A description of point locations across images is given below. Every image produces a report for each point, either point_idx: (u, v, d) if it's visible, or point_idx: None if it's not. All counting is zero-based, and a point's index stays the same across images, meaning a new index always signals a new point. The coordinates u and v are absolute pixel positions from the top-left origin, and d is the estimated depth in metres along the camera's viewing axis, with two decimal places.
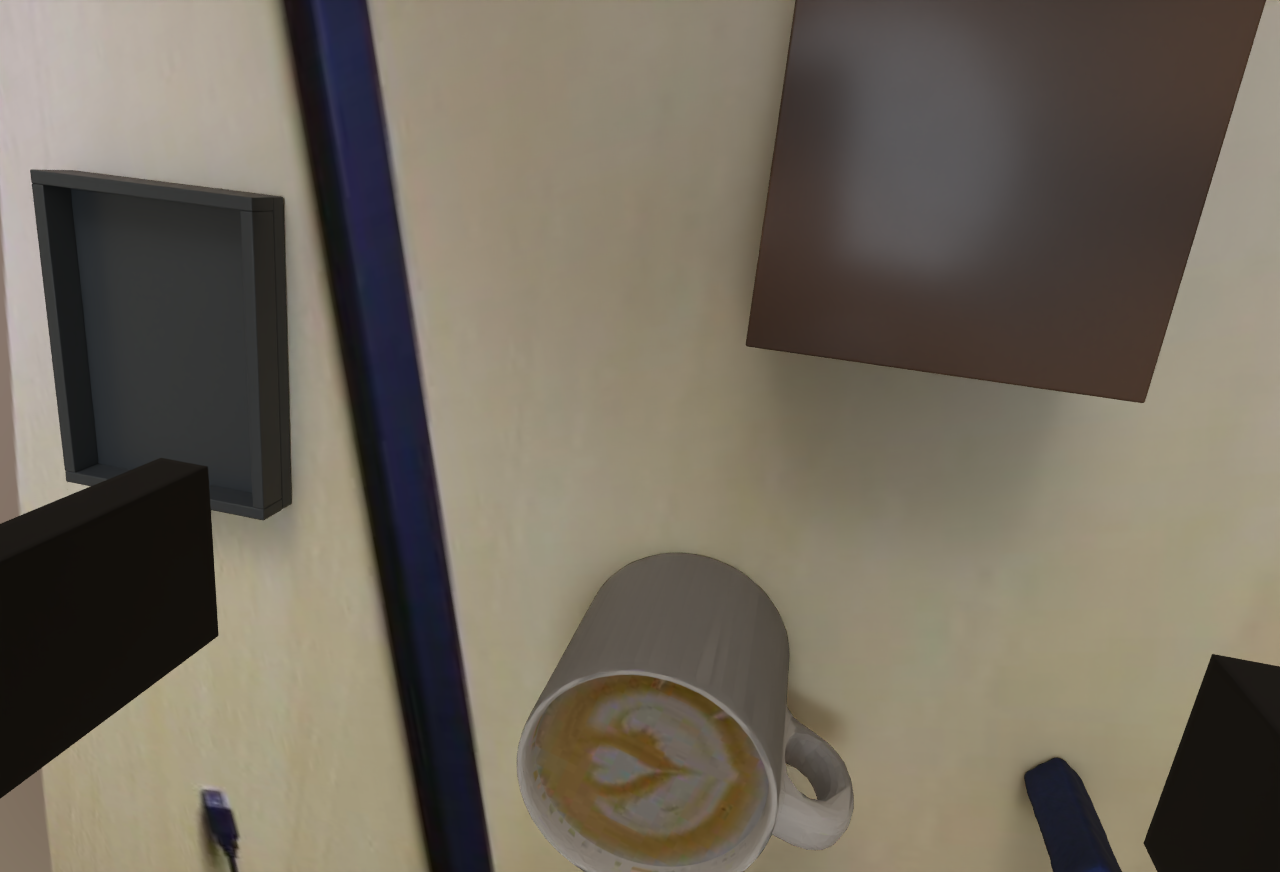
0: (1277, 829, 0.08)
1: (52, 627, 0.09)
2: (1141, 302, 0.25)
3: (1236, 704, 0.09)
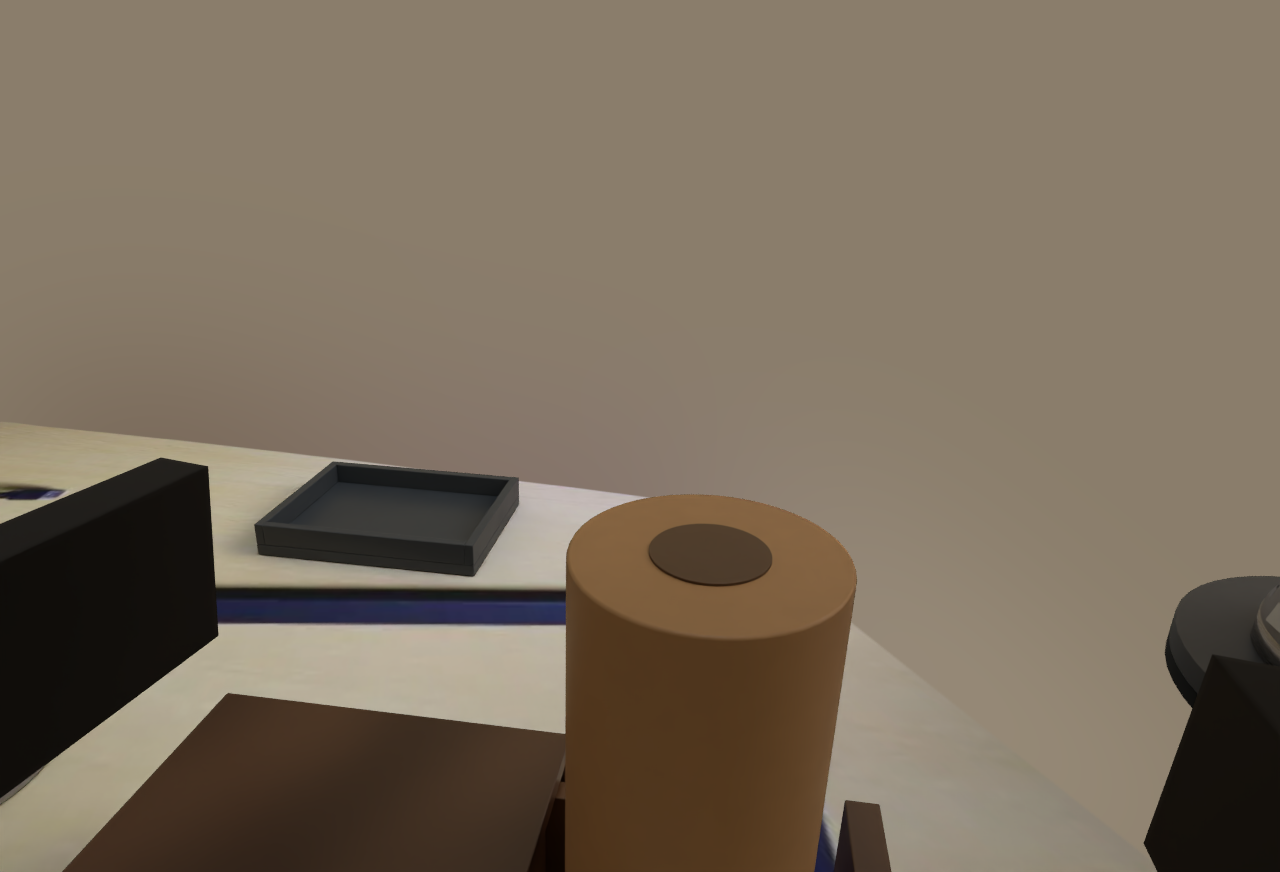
0: (1276, 829, 0.08)
1: (52, 627, 0.09)
2: None
3: (1236, 704, 0.09)
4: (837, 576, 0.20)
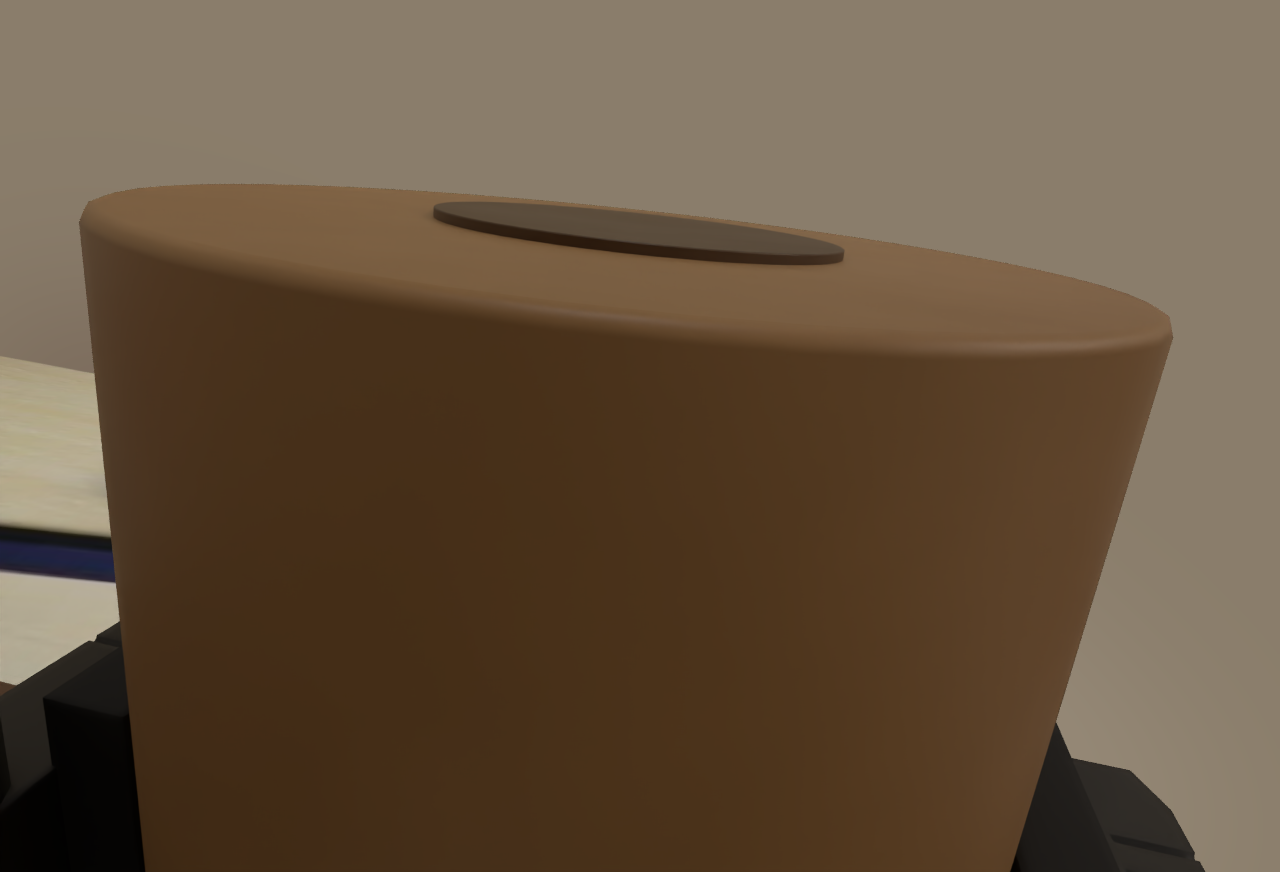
0: None
1: None
2: None
3: None
4: (1086, 295, 0.05)
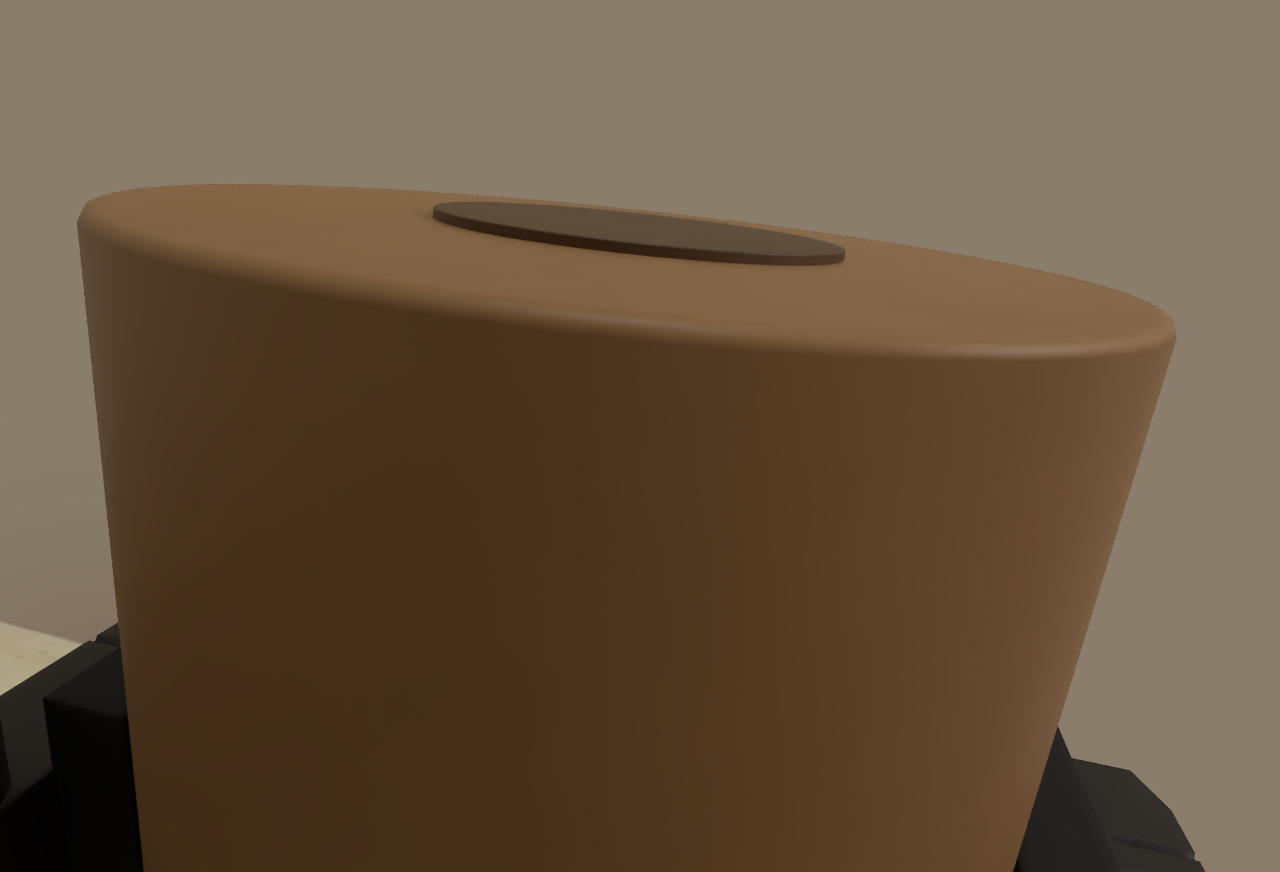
0: None
1: None
2: None
3: None
4: (1088, 296, 0.05)
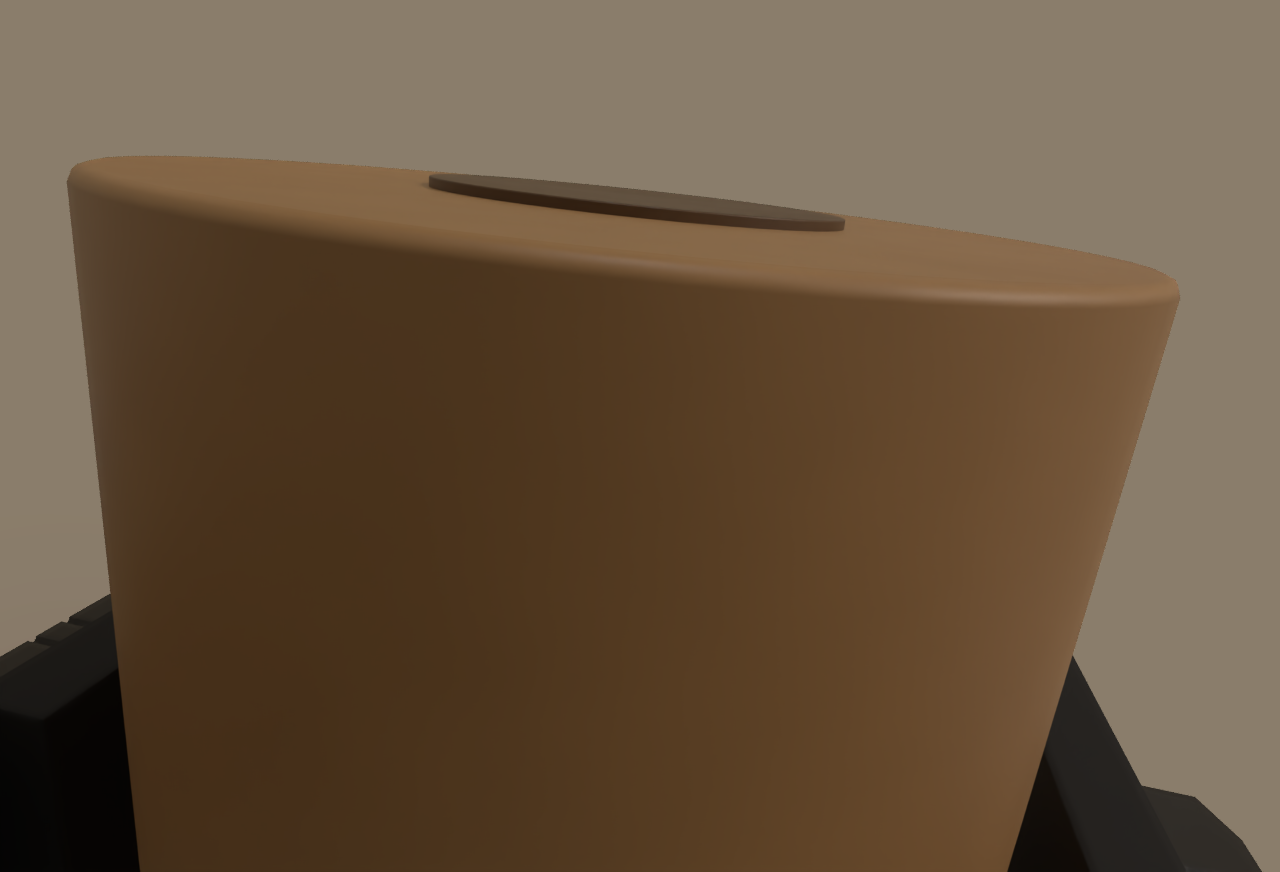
0: None
1: None
2: None
3: None
4: (1090, 261, 0.05)
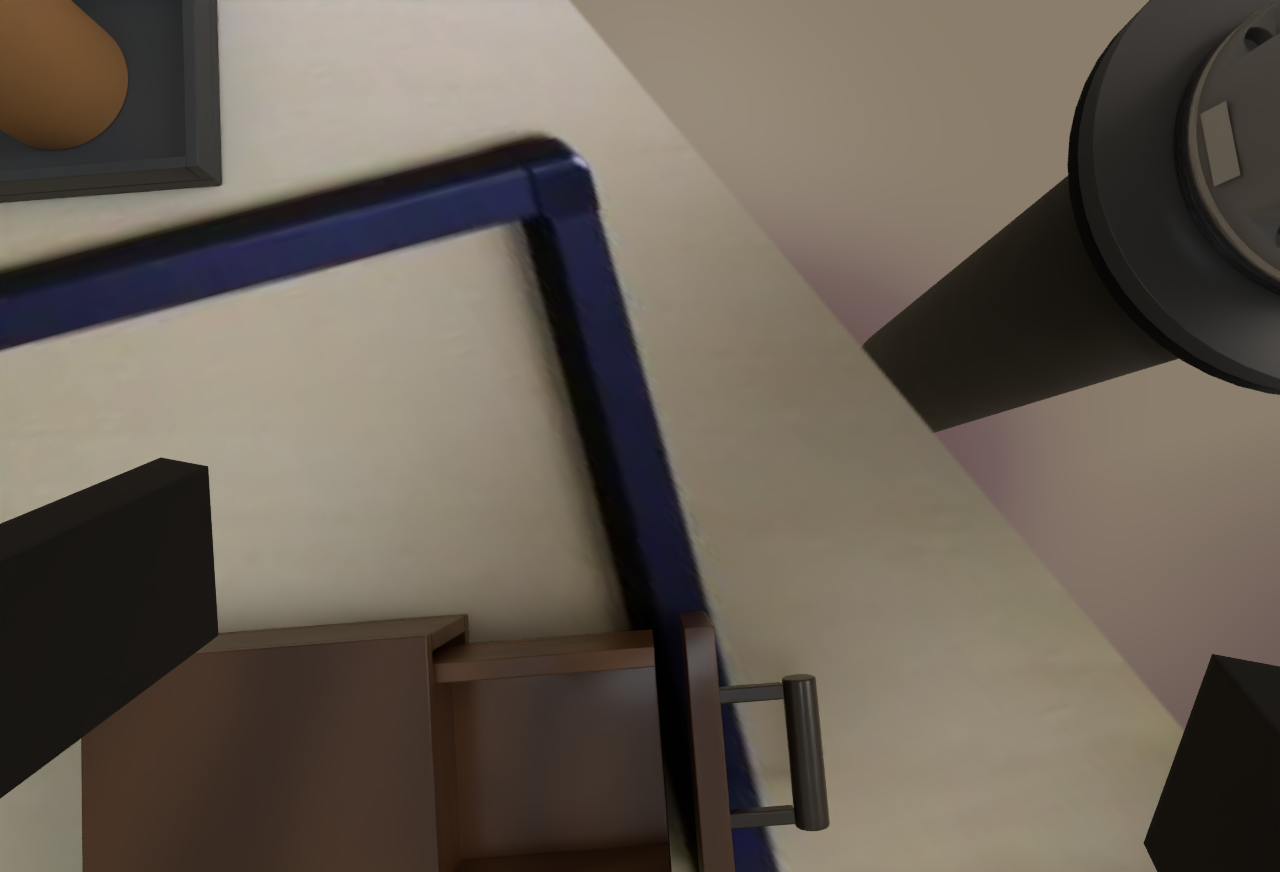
0: (1277, 829, 0.08)
1: (52, 627, 0.09)
2: None
3: (1236, 704, 0.09)
4: None
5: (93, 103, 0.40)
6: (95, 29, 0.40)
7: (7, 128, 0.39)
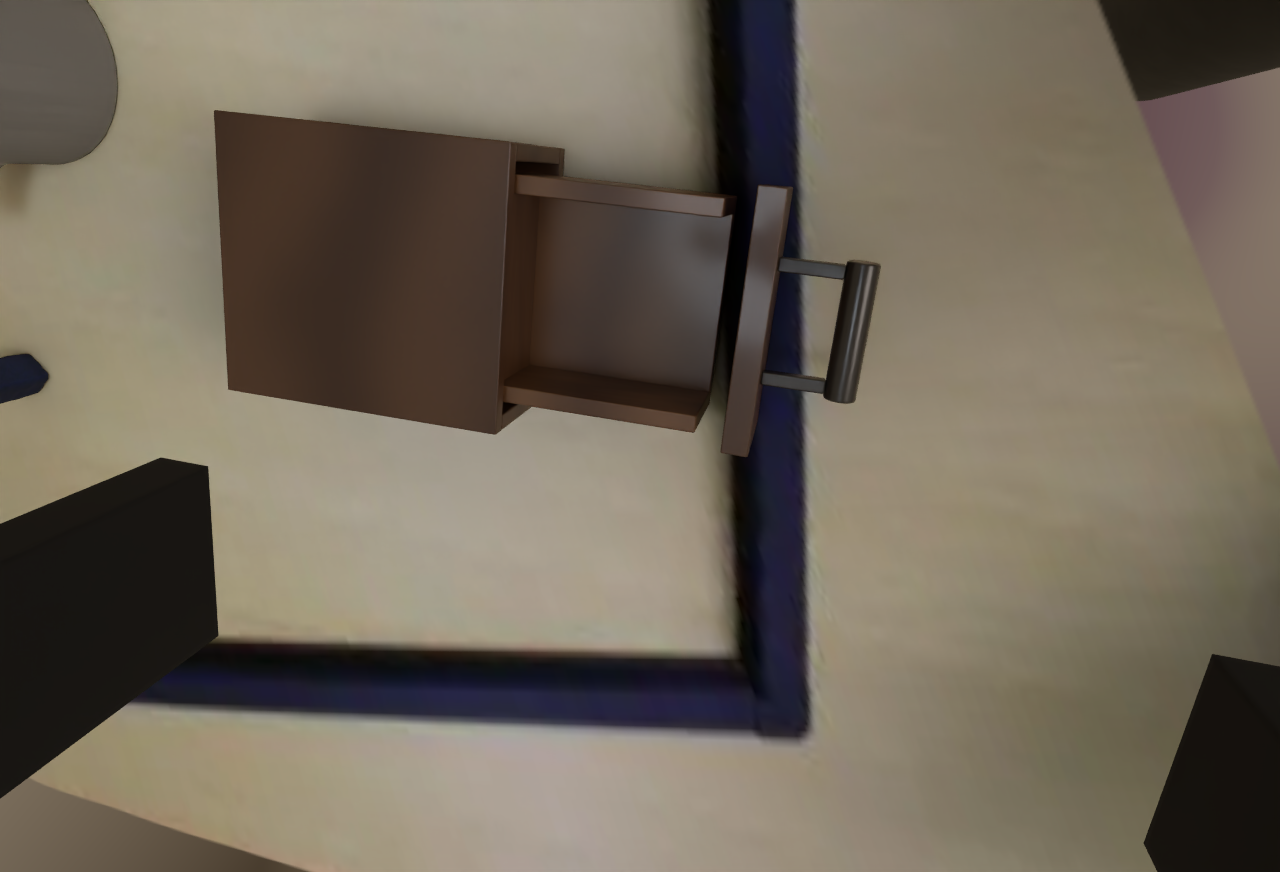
0: (1276, 827, 0.08)
1: (52, 627, 0.09)
2: (285, 380, 0.39)
3: (1236, 704, 0.09)
4: None
5: None
6: None
7: None
